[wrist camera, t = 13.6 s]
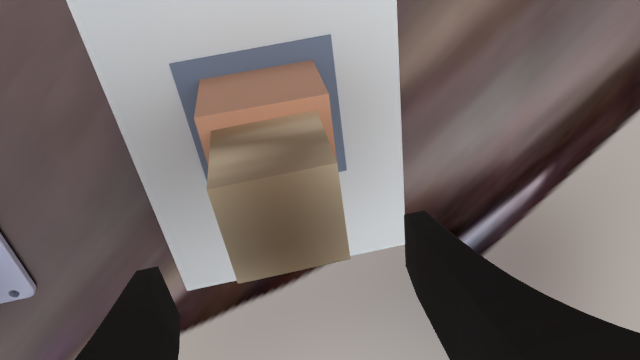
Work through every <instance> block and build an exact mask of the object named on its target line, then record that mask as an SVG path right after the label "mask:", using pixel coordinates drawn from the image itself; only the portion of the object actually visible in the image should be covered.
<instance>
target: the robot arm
mask: <svg viewBox="0 0 640 360" xmlns="http://www.w3.org/2000/svg"><path fill="white" fill-rule="evenodd" d="M404 231H405V257H406V267H407V270H408V273H409V276H410V279H411V281H412V284H413V287H414V289H415V292H416V295H417V297H418V299H419V301H420V303H421V305H422V307H423V308H424V310H425V313H426V315H427V317H428V318H429V320H430V322H431V324H432V326H433V328H434V330H435V332H436V334H437V336H438V338H439V339H440V341H441V343H442V345H443V347H444V349H445V351H446V353H447V355H448V357H449V359H450V360H640V333H638V332H634V331H632V330H629V329H625V328H622V327H619V326H617V325H614V324H612V323H609V322H606V321H604V320H601V319H599V318H596V317H594V316H591V315H588V314H586V313H584V312H581V311H579V310H577V309H575V308H572V307H570V306H568V305H566V304H564V303H562V302H560V301H557V300H555V299H553V298H551V297H549V296H547V295H545V294H543V293H541V292H539V291H537V290H535V289H533V288H532V287H530V286H528V285H526V284H524V283H523V282H521V281H519V280H517V279H516V278H514V277H512V276H511V275H509V274H508V273H506V272H504V271H503V270H501V269H500V268H498V267H497V266H495V265H494V264H492V263H491V262H489V261H488V260H487V259H485V258H484V257H482V256H481V255H479V254H478V253H477V252H475V251H474V250H473V249H471V248H470V247H469V246H467V245H466V244H465V243H463V242H462V241H461V240H460V239H458V238H457V237H456V236H455V235H453V234H452V233H451V232H450V231H448V230H447V229H446V228H445V227H443V226H442V225H441V224H440V223H439V222H437V221H436V220H435V219H434V218H433V217H431V216H430V215H429V214H428V213H427V212H425V211H420V212H415V213H411V214H406V215H404ZM13 290H15V291H18V292H15V291H13ZM35 291H36V285H35V284H34V282H33V281H32V279H31V278H30V276H29V275H28V273H27V272H26V270H25V269H24V267H23V266H22V264H21V263H20V261H19V260H18V258H17V257H16V255H15V254H14V252H13V251H12V249H11V248H10V246H9V245H8V243H7V242H6V241H5V239H4V238H3V236H2V235H1V233H0V303H5V302H10V301H15V300H19V299H24V298H29V297H31V296H33V295H34V293H35ZM179 338H180V315H179V312H178V310H177V308H176V306H175V303H174V301H173V299H172V297H171V294H170V292H169V290H168V288H167V286H166V283H165V281H164V279H163V277H162V274H161V272H160V270H159V268H158V267H153V268H148V269H144V270H139V271H136V272H135V274H134V275H133V277H132V278H131V280H130V281H129V283H128V284H127V286H126V287H125V289H124V290H123V292H122V293H121V295H120V296H119V298H118V299H117V301H116V302H115V304H114V305H113V307H112V308H111V310H110V311H109V313H108V314H107V316H106V317H105V319H104V320H103V322H102V323H101V325H100V326H99V327H98V329H97V330H96V332H95V333H94V335H93V336H92V337H91V339H90V340H89V341H88V343H87V344H86V345H85V347H84V348H83V349H82V351H81V352H80V353H79V355H78V356H77V357H76V359H75V360H178V354H179Z"/></svg>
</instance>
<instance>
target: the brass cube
mask: <svg viewBox="0 0 640 360" xmlns="http://www.w3.org/2000/svg"><path fill="white" fill-rule="evenodd" d="M207 193H208V196H209V199H210V202H211V205H212V208H213V211H214V214H215V217H216V220H217V223H218V226H219V229H220V232H221V235H222V238H223V241H224V244H225V247H226V249H227V252H228V255H229V258H230V261H231V264H232V267H233V270H234V273H235V276H236V279H237V282H238V284H239V283H244V282H248V281H253V280H257V279H262V278H266V277H271V276H276V275H280V274H285V273H289V272H294V271H298V270H303V269H307V268H312V267H316V266H321V265H326V264H330V263H335V262H339V261H343V260H348V259H350V251H349V244H348V237H347V230H346V223H345V215H344V208H343V201H342V194H341V186H340V179H339V172H338V165H337V161H336V158H335V156H334V153H333V151H332V148H331V145H330V143H329V140H328V138H327V135H326V133H325V130H324V127H323V125H322V122H321V120H320V117H319V114H318V112H317V110H313V111H308V112H303V113H298V114H293V115H288V116H283V117H278V118H273V119H268V120H263V121H258V122H253V123H248V124H243V125H237V126H232V127H227V128H222V129H217V130H212V131H211V138H210V151H209V164H208V177H207Z"/></svg>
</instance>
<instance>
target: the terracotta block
mask: <svg viewBox="0 0 640 360" xmlns="http://www.w3.org/2000/svg"><path fill="white" fill-rule="evenodd" d="M313 110H317V112H318V114H319V117H320V120H321V122H322V125H323V127H324V130H325V133H326V135H327V138H328V140H329V143H330V145H331V148H332V151H333V153H334V156H335V158H336V150H335V142H334V133H333V125H332V116H331V108H330V99H329V93H328V91H327V89H326V87H325V85H324V83H323V80H322V78H321V76H320V74H319V72H318V70H317V68H316V66H315V64H314V61H313V60H309V61H303V62H298V63H292V64H286V65H280V66H275V67H269V68H263V69H257V70H252V71H246V72H240V73H234V74H229V75H223V76H217V77H211V78H206V79H200V82H199V88H198V94H197V101H196V107H195V114H194V120H195V124H196V127H197V130H198V134H199V137H200V140H201V144H202V147H203V150H204V154H205V157H206V160H207V164H209V151H210V138H211V131H212V130H217V129H222V128H227V127H232V126H237V125H243V124H248V123H253V122H258V121H263V120H268V119H273V118H278V117H283V116H288V115H293V114H298V113H303V112H308V111H313ZM336 161H337V159H336Z"/></svg>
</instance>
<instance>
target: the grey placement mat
mask: <svg viewBox="0 0 640 360" xmlns="http://www.w3.org/2000/svg"><path fill="white" fill-rule="evenodd" d="M66 1H67V4H68V6H69V8H70V11H71V13H72V16H73V18H74V20H75V23H76V25H77V28H78V30H79V32H80V35H81V37H82V40H83V42H84V44H85V47H86V49H87V52H88V54H89V56H90V59H91V61H92V64H93V66H94V68H95V71H96V73H97V76H98V78H99V80H100V83H101V85H102V88H103V90H104V92H105V95H106V97H107V100H108V102H109V104H110V107H111V109H112V112H113V114H114V116H115V119H116V121H117V124H118V126H119V128H120V131H121V133H122V136H123V138H124V140H125V143H126V145H127V148H128V150H129V152H130V155H131V157H132V160H133V162H134V164H135V167H136V169H137V172H138V174H139V176H140V179H141V181H142V184H143V186H144V188H145V191H146V193H147V196H148V198H149V200H150V203H151V205H152V208H153V210H154V212H155V215H156V217H157V220H158V222H159V224H160V227H161V229H162V232H163V234H164V236H165V239H166V241H167V244H168V246H169V248H170V251H171V253H172V256H173V258H174V260H175V263H176V265H177V268H178V270H179V272H180V275H181V277H182V280H183V282H184V285H185V287H186V289H187V291H189V290H194V289H199V288H203V287H208V286H213V285H218V284H222V283H227V282H232V281H236V280H237V279H236V276H235V273H234V270H233V267H232V264H231V261H230V258H229V255H228V252H227V249H226V247H225V244H224V241H223V238H222V235H221V232H220V229H219V226H218V223H217V220H216V217H215V214H214V211H213V208H212V205H211V202H210V199H209V196H208V193H207V177H208V164H207V160H206V157H205V154H204V150H203V147H202V144H201V140H200V137H199V134H198V130H197V127H196V124H195V120H194V114H195V107H196V101H197V94H198V88H199V82H200V79H206V78H211V77H217V76H223V75H229V74H234V73H240V72H246V71H252V70H257V69H263V68H269V67H275V66H280V65H286V64H292V63H298V62H303V61H309V60H313V61H314V64H315V66H316V68H317V70H318V72H319V74H320V76H321V78H322V80H323V83H324V85H325V87H326V89H327V91H328V93H329V99H330V108H331V116H332V125H333V133H334V142H335V150H336V159H337V165H338V172H339V179H340V186H341V194H342V201H343V208H344V215H345V223H346V230H347V237H348V244H349V251H350V256H353V255H358V254H362V253H367V252H371V251H376V250H381V249H386V248H390V247H395V246H399V245H404V244H405V231H404V215H405V210H404V183H403V157H402V130H401V104H400V78H399V51H398V25H397V0H66Z"/></svg>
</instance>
